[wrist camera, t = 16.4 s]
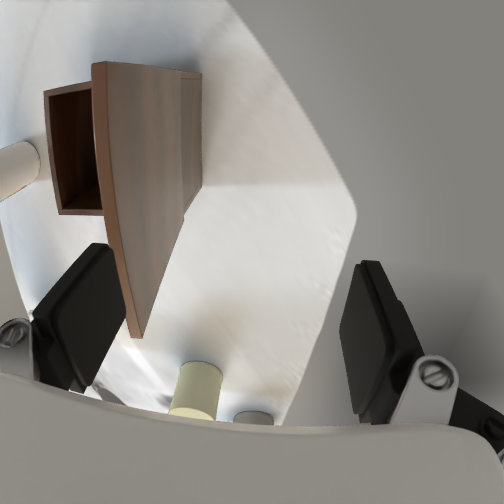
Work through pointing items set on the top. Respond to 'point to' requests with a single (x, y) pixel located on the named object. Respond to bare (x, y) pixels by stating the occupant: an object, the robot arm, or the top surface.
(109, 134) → the bin lid
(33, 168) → the milk bottle
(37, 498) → the robot arm
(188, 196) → the bin
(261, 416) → the coffee mug
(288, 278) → the top surface
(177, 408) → the can
